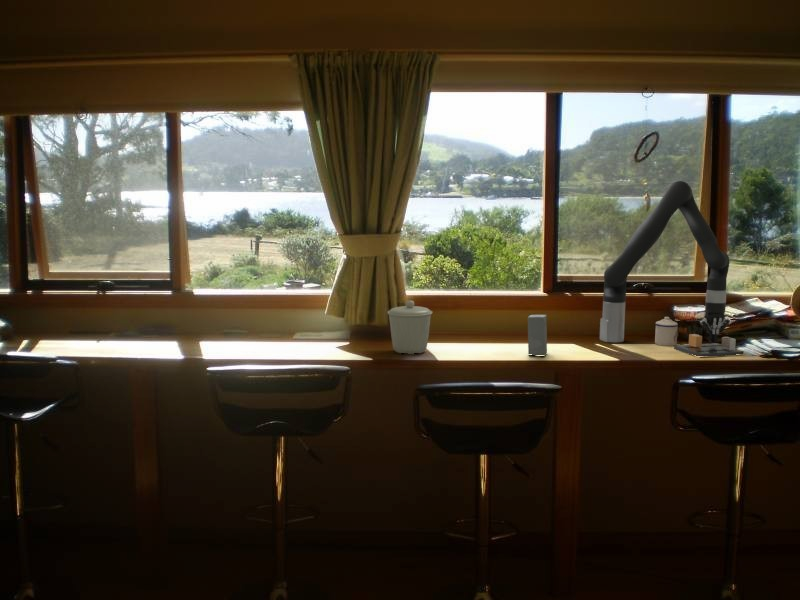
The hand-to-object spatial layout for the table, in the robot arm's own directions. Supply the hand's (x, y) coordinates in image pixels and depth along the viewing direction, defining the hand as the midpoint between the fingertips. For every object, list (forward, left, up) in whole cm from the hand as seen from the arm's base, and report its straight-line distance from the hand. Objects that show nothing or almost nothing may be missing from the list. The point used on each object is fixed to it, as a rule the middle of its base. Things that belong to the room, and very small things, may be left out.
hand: (713, 342), depth 286 cm
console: (-5, -4, -3) cm, 7 cm away
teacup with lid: (-12, +15, -3) cm, 20 cm away
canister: (-122, +23, -3) cm, 124 cm away
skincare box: (-74, +7, -3) cm, 74 cm away
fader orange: (-8, 0, -1) cm, 8 cm away
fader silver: (+1, -8, -1) cm, 8 cm away
